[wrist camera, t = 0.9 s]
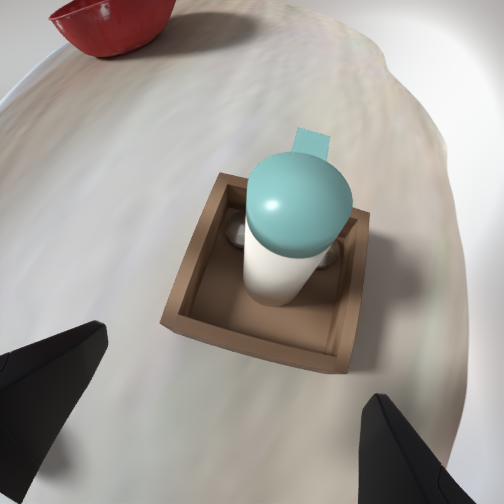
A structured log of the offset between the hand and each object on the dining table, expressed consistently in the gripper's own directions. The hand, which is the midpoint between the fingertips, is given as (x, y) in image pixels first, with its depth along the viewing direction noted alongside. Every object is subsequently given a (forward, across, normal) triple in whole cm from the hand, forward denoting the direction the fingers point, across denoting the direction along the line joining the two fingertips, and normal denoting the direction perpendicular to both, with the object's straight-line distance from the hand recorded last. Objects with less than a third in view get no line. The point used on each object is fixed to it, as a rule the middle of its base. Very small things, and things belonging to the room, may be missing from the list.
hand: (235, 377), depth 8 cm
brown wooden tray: (+16, -1, +5) cm, 16 cm away
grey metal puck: (+17, +2, +2) cm, 18 cm away
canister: (+15, -1, +4) cm, 16 cm away
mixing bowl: (+48, +40, -24) cm, 67 cm away
